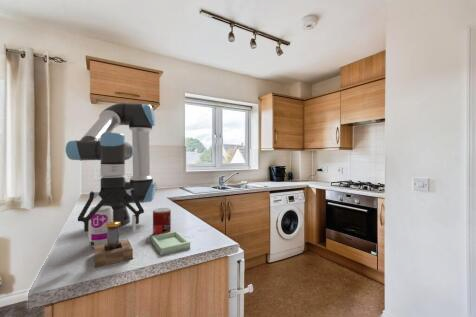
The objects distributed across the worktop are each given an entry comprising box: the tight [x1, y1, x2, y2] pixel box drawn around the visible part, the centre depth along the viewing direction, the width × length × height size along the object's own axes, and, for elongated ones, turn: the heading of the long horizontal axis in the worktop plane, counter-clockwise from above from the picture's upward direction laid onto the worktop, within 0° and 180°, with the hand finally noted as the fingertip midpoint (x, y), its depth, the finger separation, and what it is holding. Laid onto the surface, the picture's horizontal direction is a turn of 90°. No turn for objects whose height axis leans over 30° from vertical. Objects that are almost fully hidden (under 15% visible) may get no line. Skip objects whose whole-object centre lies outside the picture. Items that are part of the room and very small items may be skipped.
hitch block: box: [93, 238, 134, 268], centre depth 78 cm, size 11×11×4 cm
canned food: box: [152, 207, 172, 235], centre depth 103 cm, size 8×8×11 cm
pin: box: [106, 221, 121, 251], centre depth 78 cm, size 5×5×12 cm
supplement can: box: [88, 206, 113, 248], centre depth 90 cm, size 8×8×15 cm
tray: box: [150, 230, 191, 256], centre depth 89 cm, size 16×11×2 cm
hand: (113, 236), depth 78 cm, fingers open, 13 cm apart
